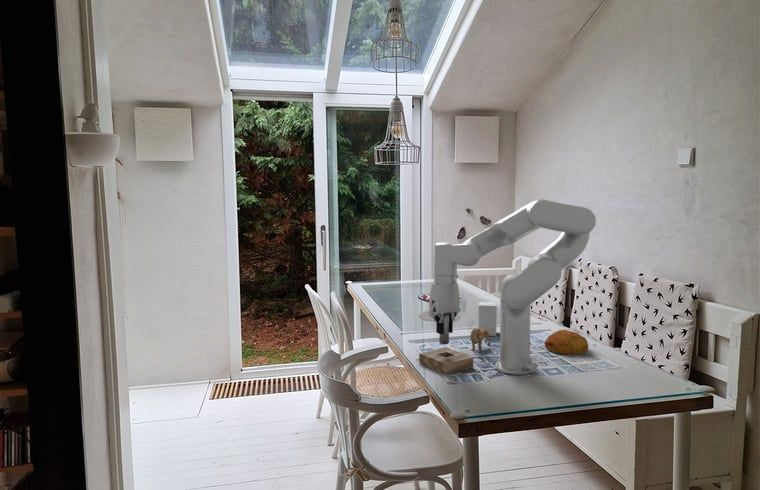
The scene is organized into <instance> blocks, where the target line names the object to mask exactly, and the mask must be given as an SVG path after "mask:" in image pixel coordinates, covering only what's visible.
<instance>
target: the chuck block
mask: <svg viewBox="0 0 760 490" xmlns="http://www.w3.org/2000/svg"><path fill="white" fill-rule="evenodd" d="M418 361H419V363H418V364H421V365H422V366H425V367H428V368H430V369H432V370H434V371H437V372H439V373H441V374H444V375H446V374H447V375H450V374H454V373H458V372H462V371H464V370H468V368H469V369H473V368H474V356H471V355H470V354H469V355H468V354H466V353H463V352H460V351H457V350H455V349H451V348H449V347H447V346H445V347H440V348H436V349H430V350H428V351H423V352H419V353H418Z"/></svg>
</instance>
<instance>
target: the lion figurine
mask: <svg viewBox="0 0 760 490" xmlns="http://www.w3.org/2000/svg"><path fill="white" fill-rule="evenodd" d="M484 339H485V341H484V342H485V343H487V346H491V339H490V336H489V333H488V331H487V330H486V329H481V330H480V329H479V328H478V327H475V328H472V330H471V332H470V341H471V346H472V347H471V351H475V350H476V345H477V346H478V348H477V349H478V351H479V352H482V351H483V349H482V343H483V340H484Z"/></svg>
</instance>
